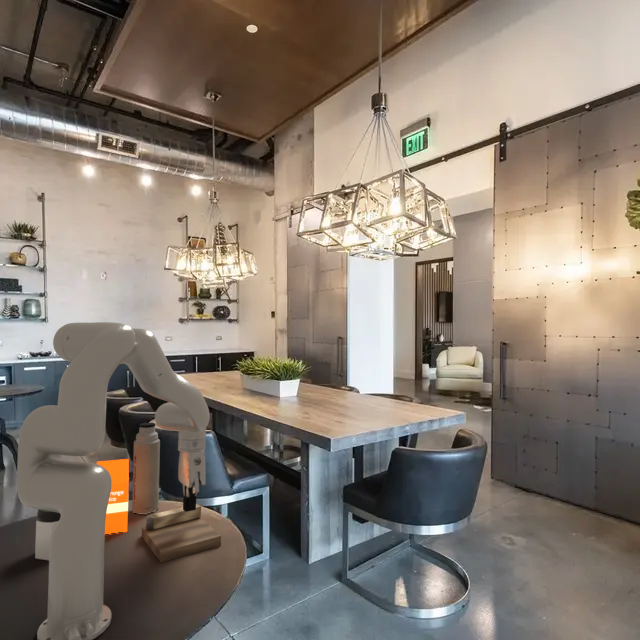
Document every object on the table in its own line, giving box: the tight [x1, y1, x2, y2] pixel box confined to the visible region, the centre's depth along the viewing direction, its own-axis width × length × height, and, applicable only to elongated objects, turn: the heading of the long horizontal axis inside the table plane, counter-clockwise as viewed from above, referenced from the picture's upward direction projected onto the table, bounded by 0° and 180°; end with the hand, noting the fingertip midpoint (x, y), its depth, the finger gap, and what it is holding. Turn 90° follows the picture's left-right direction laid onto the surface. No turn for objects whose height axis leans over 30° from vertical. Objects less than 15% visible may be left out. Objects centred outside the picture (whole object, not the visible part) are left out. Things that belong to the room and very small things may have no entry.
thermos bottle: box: [131, 422, 161, 514], centre depth 146 cm, size 8×8×28 cm
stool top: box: [141, 517, 222, 563], centre depth 124 cm, size 18×16×2 cm
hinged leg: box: [145, 503, 202, 530], centre depth 129 cm, size 16×3×3 cm, turn 129°
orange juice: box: [96, 458, 130, 535], centre depth 131 cm, size 8×9×20 cm
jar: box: [34, 509, 61, 561], centre depth 116 cm, size 9×8×12 cm
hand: (189, 509), depth 126 cm, fingers closed
